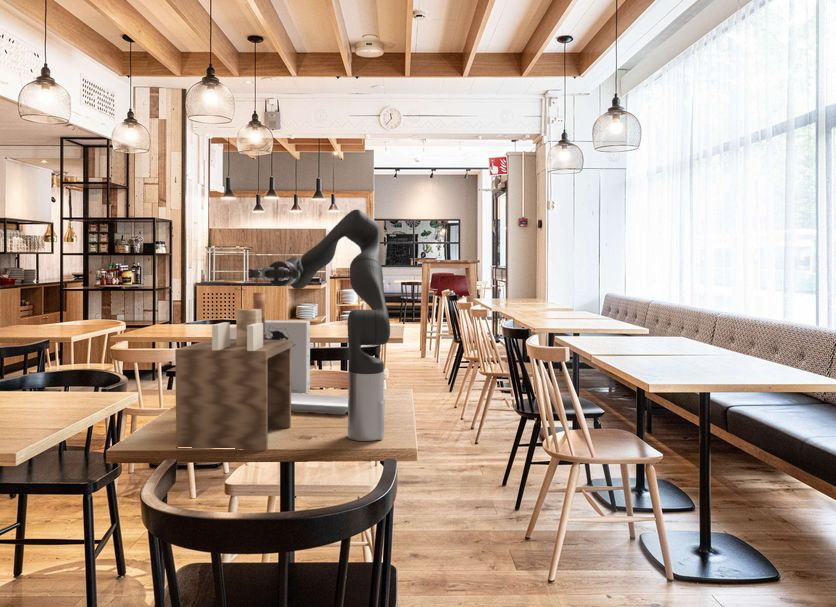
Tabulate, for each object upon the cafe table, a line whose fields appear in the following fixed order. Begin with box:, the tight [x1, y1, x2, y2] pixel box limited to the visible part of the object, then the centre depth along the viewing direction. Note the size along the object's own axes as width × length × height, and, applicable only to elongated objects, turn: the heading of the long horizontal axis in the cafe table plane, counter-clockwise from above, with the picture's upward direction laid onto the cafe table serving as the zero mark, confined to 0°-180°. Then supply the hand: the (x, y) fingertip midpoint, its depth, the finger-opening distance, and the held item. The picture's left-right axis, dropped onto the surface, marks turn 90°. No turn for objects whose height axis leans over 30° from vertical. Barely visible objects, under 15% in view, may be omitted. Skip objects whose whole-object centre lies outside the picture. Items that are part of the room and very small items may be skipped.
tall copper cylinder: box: [235, 292, 266, 346], centre depth 171 cm, size 5×12×13 cm, turn 177°
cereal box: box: [265, 319, 311, 394], centre depth 229 cm, size 22×8×25 cm, turn 91°
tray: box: [291, 393, 348, 415], centre depth 203 cm, size 17×32×4 cm, turn 79°
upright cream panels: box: [211, 321, 263, 351], centre depth 159 cm, size 10×8×6 cm
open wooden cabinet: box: [174, 338, 292, 452], centre depth 168 cm, size 22×24×24 cm
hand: (267, 274), depth 183 cm, fingers open, 8 cm apart
